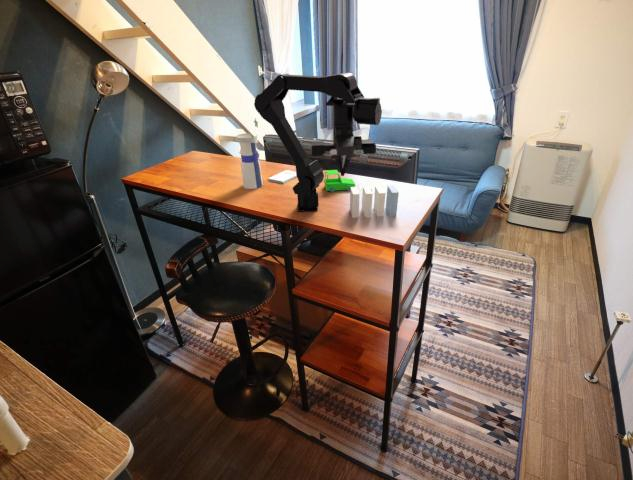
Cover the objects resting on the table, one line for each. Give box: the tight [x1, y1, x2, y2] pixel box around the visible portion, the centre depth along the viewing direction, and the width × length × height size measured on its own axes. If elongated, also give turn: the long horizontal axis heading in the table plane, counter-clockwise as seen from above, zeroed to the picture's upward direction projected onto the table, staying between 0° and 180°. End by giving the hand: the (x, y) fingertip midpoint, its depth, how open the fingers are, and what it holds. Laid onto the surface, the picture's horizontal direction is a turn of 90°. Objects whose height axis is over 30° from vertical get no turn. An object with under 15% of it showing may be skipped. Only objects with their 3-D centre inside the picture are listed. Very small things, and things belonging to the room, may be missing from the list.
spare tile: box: [385, 184, 399, 217], centre depth 110 cm, size 2×6×8 cm, turn 3°
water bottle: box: [234, 117, 264, 190], centre depth 129 cm, size 8×8×25 cm
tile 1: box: [349, 186, 360, 219], centre depth 109 cm, size 2×6×8 cm, turn 3°
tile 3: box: [373, 185, 386, 218], centre depth 110 cm, size 2×6×8 cm, turn 3°
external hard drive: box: [267, 169, 297, 185], centre depth 142 cm, size 2×8×12 cm
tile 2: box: [361, 185, 373, 218], centre depth 110 cm, size 2×6×8 cm, turn 2°
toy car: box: [323, 169, 356, 193], centre depth 129 cm, size 11×7×7 cm, turn 97°
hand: (342, 175), depth 105 cm, fingers closed
